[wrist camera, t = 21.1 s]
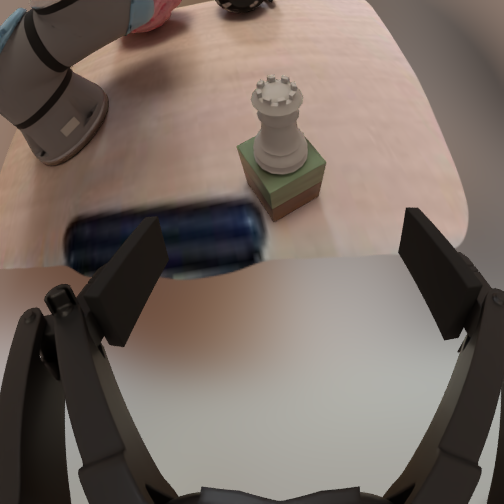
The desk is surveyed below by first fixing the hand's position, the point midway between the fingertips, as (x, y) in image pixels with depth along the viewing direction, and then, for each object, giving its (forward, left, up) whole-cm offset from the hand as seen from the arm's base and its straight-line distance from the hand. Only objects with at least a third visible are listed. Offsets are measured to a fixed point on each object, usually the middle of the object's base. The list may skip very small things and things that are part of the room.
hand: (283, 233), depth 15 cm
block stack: (-8, +5, -14) cm, 16 cm away
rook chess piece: (-8, +5, -7) cm, 11 cm away
